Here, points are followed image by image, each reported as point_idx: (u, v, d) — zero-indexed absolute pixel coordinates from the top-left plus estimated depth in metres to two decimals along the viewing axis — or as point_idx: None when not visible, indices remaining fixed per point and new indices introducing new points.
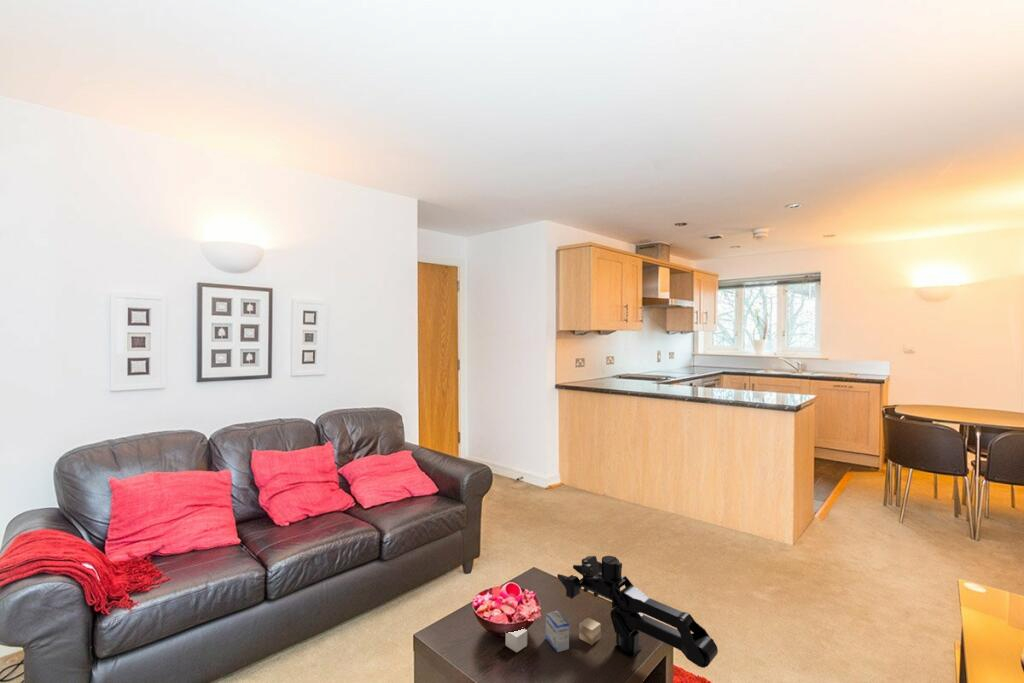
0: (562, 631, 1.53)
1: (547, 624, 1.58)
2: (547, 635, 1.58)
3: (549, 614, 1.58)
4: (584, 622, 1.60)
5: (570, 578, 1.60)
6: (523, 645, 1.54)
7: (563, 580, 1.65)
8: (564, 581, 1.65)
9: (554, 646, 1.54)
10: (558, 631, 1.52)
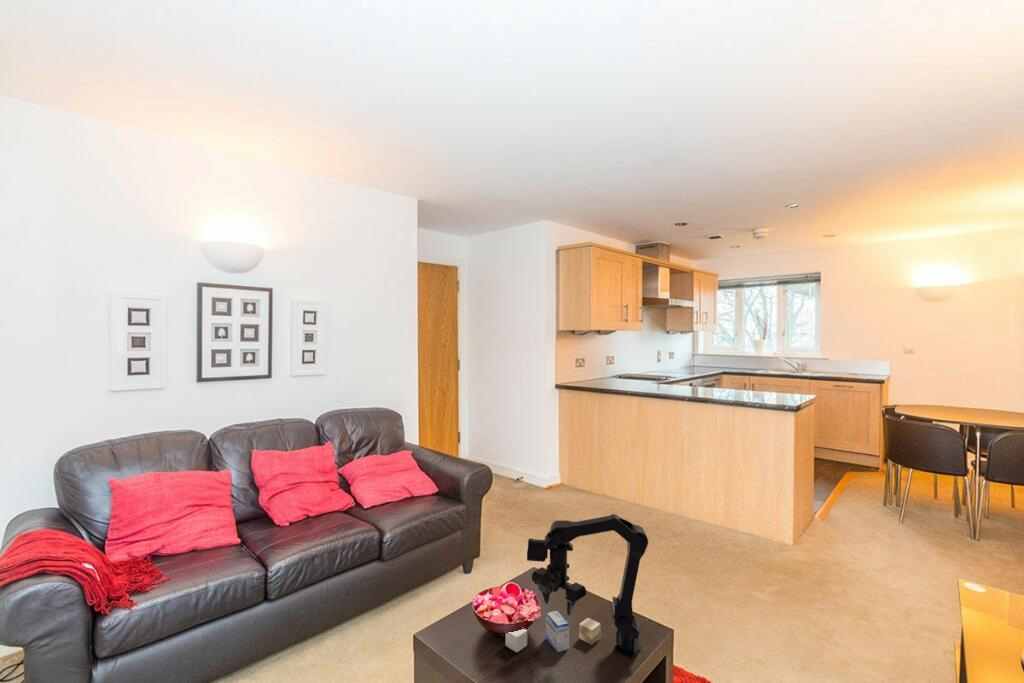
0: (562, 631, 1.53)
1: (547, 624, 1.58)
2: (547, 635, 1.58)
3: (549, 614, 1.58)
4: (584, 622, 1.60)
5: (572, 597, 1.49)
6: (523, 645, 1.54)
7: (572, 605, 1.52)
8: (572, 604, 1.53)
9: (554, 646, 1.54)
10: (558, 631, 1.52)
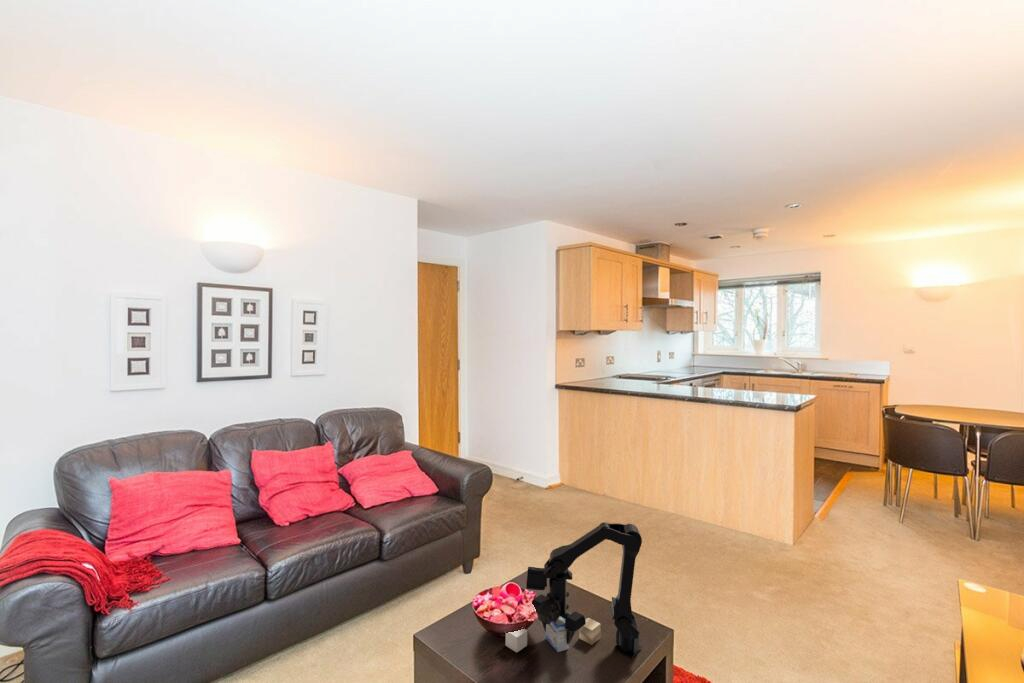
0: (562, 631, 1.53)
1: (547, 624, 1.58)
2: (547, 635, 1.58)
3: None
4: None
5: (571, 627, 1.49)
6: (523, 645, 1.54)
7: (571, 634, 1.53)
8: (572, 633, 1.53)
9: (554, 646, 1.54)
10: (558, 631, 1.52)
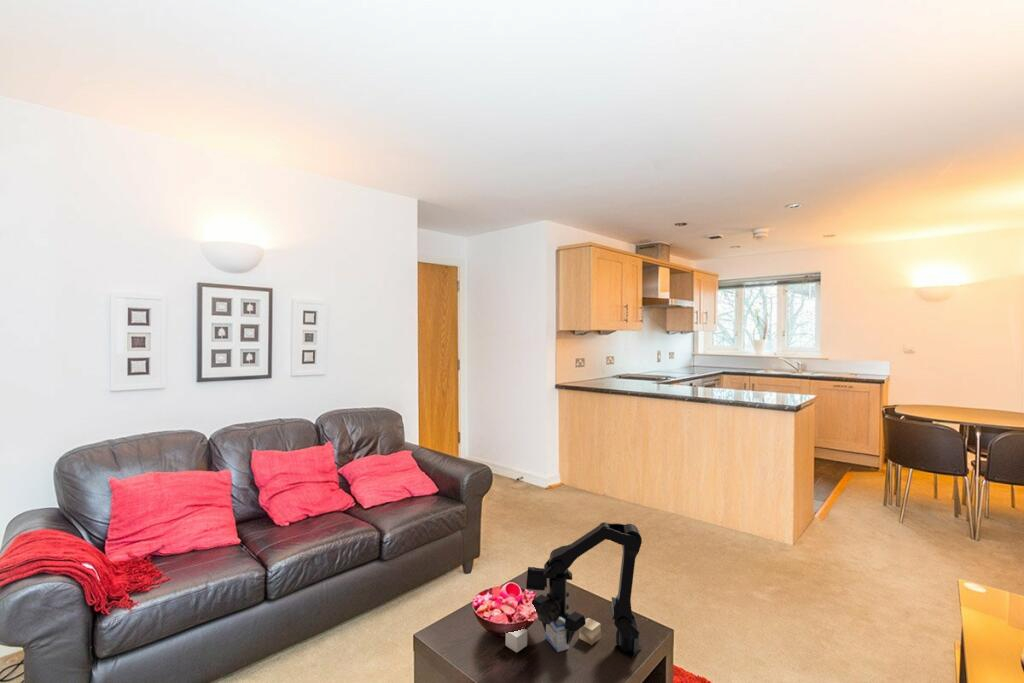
0: (562, 630, 1.53)
1: None
2: (547, 635, 1.58)
3: None
4: None
5: (571, 627, 1.49)
6: (523, 645, 1.54)
7: (571, 634, 1.53)
8: (571, 633, 1.53)
9: (554, 646, 1.54)
10: (558, 631, 1.52)
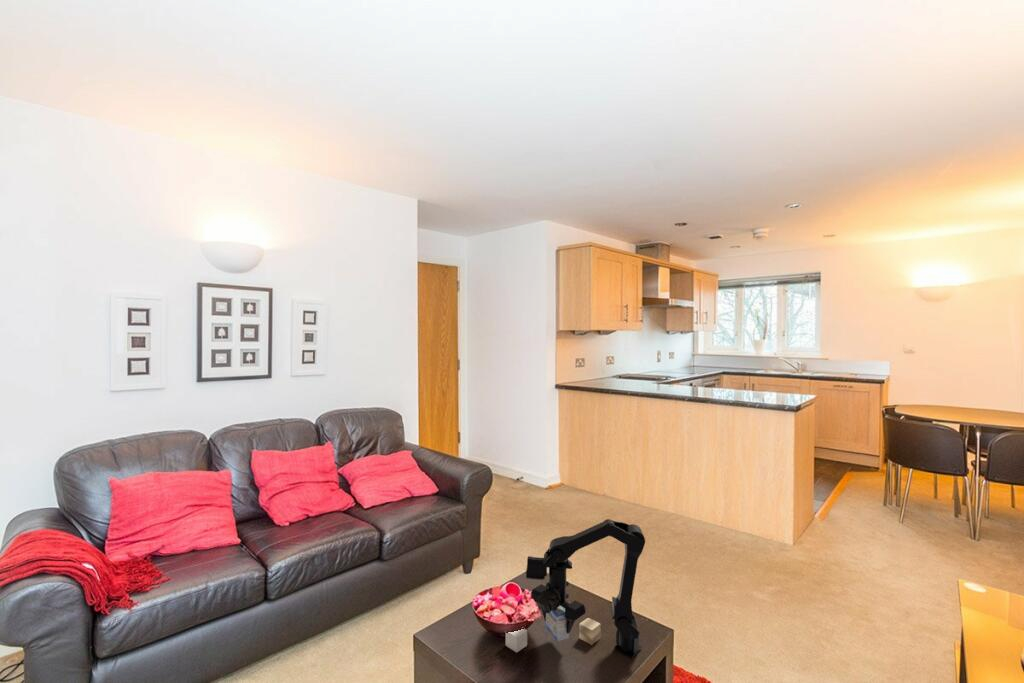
0: (562, 619, 1.53)
1: (547, 613, 1.58)
2: (547, 624, 1.58)
3: None
4: (584, 622, 1.60)
5: (571, 616, 1.49)
6: (523, 645, 1.54)
7: (571, 623, 1.53)
8: (571, 622, 1.53)
9: (554, 635, 1.54)
10: (558, 620, 1.52)
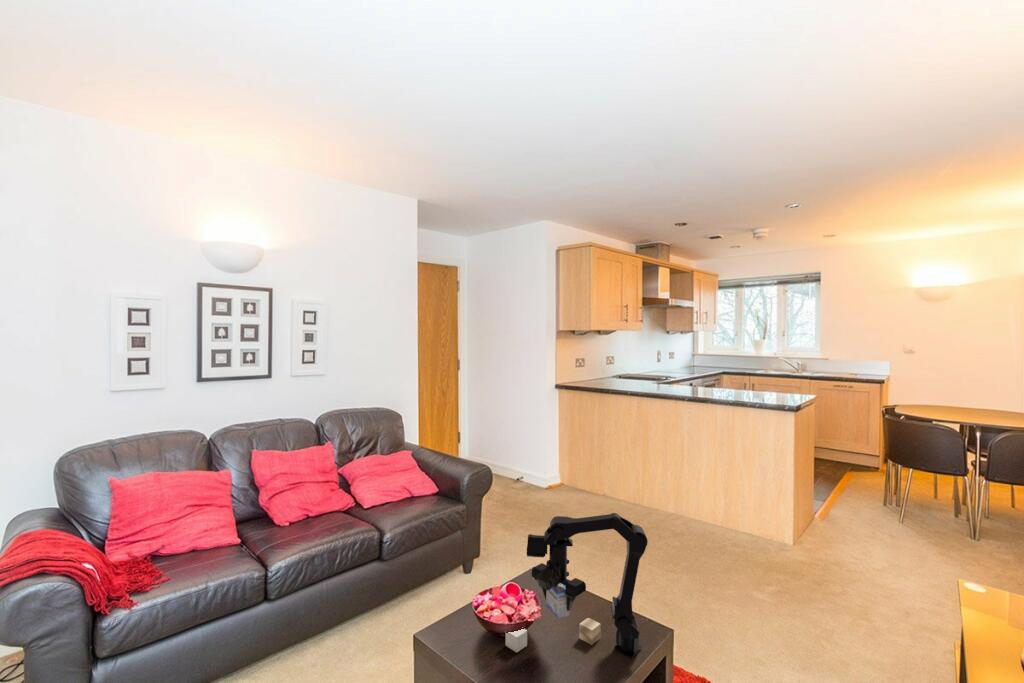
0: (563, 597, 1.53)
1: (547, 591, 1.58)
2: (547, 602, 1.58)
3: None
4: (584, 622, 1.60)
5: (571, 593, 1.49)
6: (523, 645, 1.54)
7: (571, 601, 1.52)
8: (572, 599, 1.53)
9: (554, 612, 1.54)
10: (559, 597, 1.52)
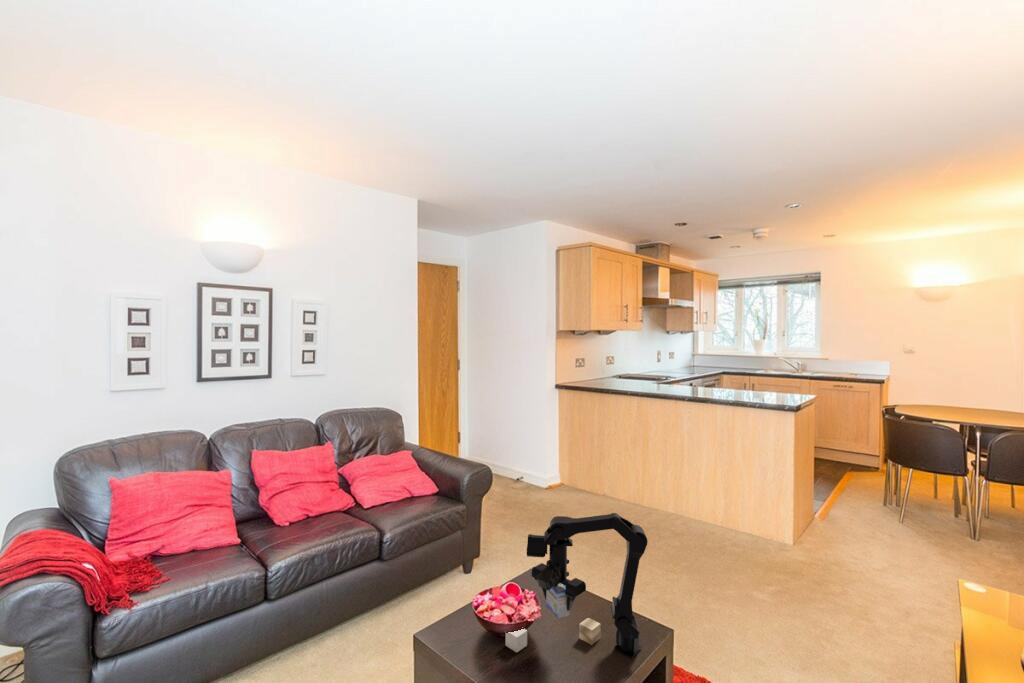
0: (563, 597, 1.53)
1: (547, 591, 1.58)
2: (547, 602, 1.58)
3: None
4: (584, 622, 1.60)
5: (571, 593, 1.49)
6: (523, 645, 1.54)
7: (571, 601, 1.52)
8: (572, 599, 1.53)
9: (555, 612, 1.54)
10: (559, 597, 1.52)
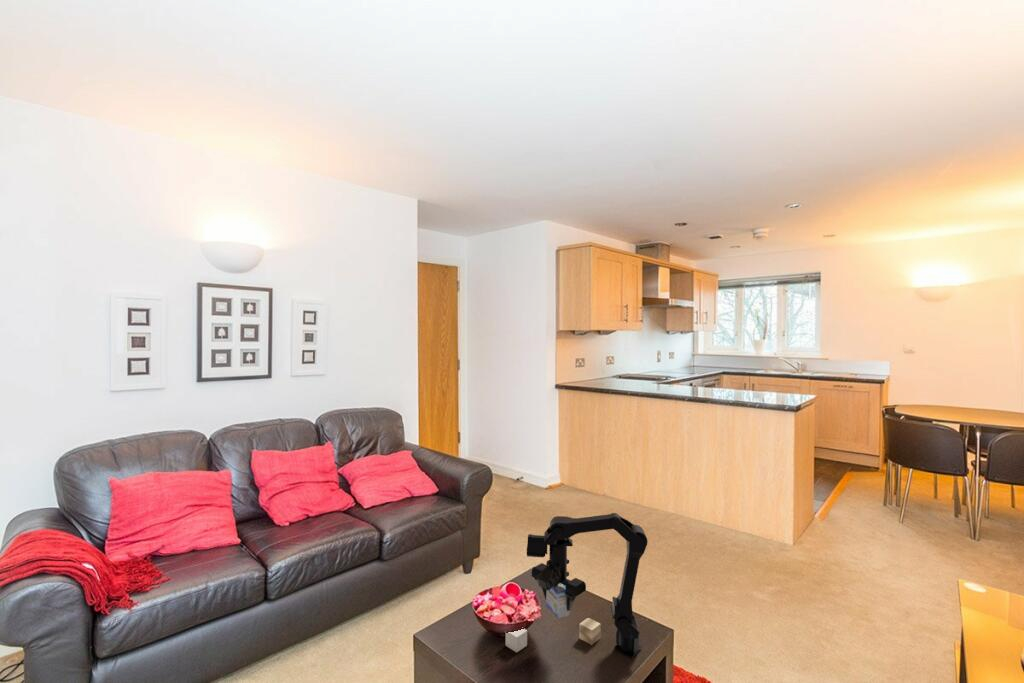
0: (563, 597, 1.53)
1: (547, 591, 1.58)
2: (547, 602, 1.58)
3: None
4: (584, 622, 1.60)
5: (571, 593, 1.49)
6: (523, 645, 1.54)
7: (571, 601, 1.52)
8: (572, 599, 1.53)
9: (555, 612, 1.54)
10: (559, 597, 1.52)
